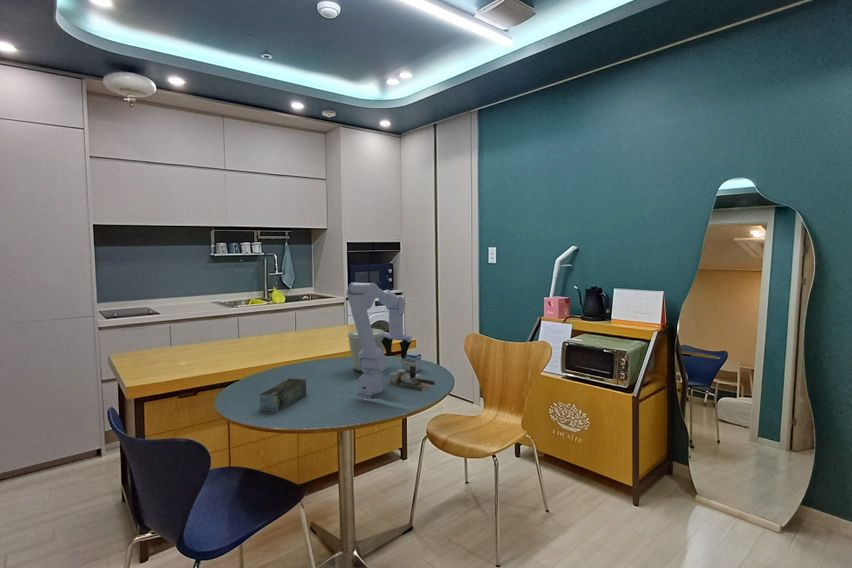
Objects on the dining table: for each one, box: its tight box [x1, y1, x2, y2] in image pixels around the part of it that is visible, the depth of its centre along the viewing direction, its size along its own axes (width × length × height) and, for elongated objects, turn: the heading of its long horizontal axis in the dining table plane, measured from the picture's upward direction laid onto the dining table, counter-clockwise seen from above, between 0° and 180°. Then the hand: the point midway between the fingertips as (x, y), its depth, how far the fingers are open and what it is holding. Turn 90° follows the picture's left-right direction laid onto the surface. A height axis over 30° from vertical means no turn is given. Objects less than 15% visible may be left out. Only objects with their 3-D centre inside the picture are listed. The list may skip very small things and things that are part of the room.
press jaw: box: [405, 366, 422, 385], centre depth 180 cm, size 7×3×7 cm, turn 148°
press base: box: [385, 368, 436, 392], centre depth 181 cm, size 10×18×6 cm, turn 58°
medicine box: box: [401, 351, 422, 373], centre depth 202 cm, size 8×4×9 cm, turn 62°
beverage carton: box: [259, 378, 308, 412], centre depth 166 cm, size 8×19×7 cm, turn 164°
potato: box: [401, 373, 410, 384], centre depth 182 cm, size 4×4×3 cm
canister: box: [346, 327, 387, 372], centre depth 209 cm, size 18×18×21 cm
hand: (396, 356), depth 189 cm, fingers open, 7 cm apart
